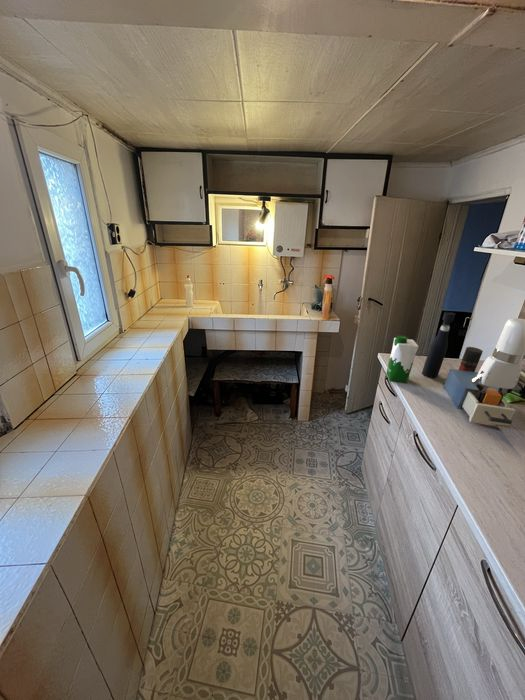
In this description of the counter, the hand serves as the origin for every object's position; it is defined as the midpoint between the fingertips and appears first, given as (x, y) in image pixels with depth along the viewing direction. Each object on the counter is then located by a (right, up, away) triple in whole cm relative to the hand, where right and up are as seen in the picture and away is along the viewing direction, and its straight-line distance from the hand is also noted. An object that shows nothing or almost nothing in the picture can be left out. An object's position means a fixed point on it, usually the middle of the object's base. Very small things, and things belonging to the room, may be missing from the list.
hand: (487, 401), depth 100 cm
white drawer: (-1, -6, +2) cm, 6 cm away
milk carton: (-20, +5, +27) cm, 34 cm away
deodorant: (+11, +5, +28) cm, 30 cm away
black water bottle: (-2, +7, +31) cm, 31 cm away
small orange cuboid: (0, 0, 0) cm, 0 cm away
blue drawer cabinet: (+2, -2, +13) cm, 13 cm away
